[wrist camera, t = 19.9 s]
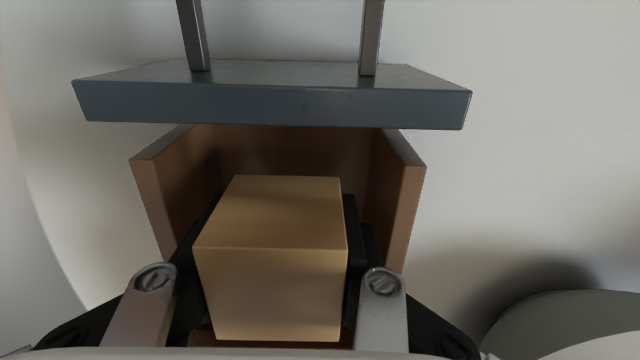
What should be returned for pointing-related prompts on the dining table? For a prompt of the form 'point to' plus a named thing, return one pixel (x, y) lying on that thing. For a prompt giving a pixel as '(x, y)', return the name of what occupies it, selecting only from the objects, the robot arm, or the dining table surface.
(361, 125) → the drawer
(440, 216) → the dining table surface
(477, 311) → the dining table surface
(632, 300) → the bowl
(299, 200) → the block
